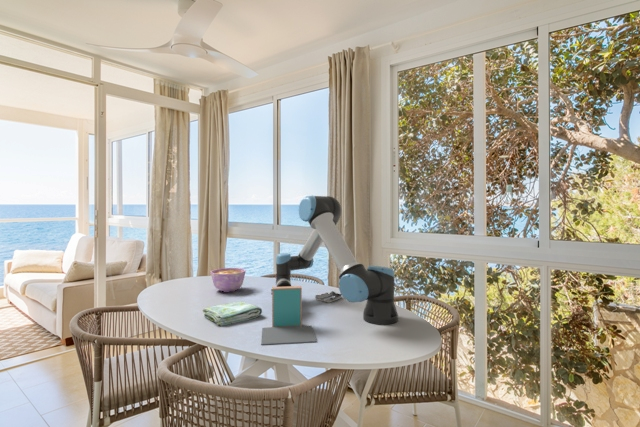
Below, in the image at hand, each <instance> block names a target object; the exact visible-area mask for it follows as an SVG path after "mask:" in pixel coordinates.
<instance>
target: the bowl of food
mask: <svg viewBox="0 0 640 427" xmlns="http://www.w3.org/2000/svg"><path fill="white" fill-rule="evenodd" d="M246 271H247V270H246V269H245V268H239V267H227V268H226V267H223V268H217V269H213V270H210V275H211V280H212V282H213V286H214V287H215V289H216V290H219V291H220V292H222V291H224V292H223V293H230V292H229V291H233V292H235V291H234V290H239V289H240V288H241V287H242V285H243V284H244V281H245V280H244V279H245V277H246V276H245V275H246Z"/></svg>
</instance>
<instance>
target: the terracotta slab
mask: <svg viewBox="0 0 640 427" xmlns="http://www.w3.org/2000/svg"><path fill="white" fill-rule="evenodd" d="M271 289H272V297H271V298H272V300H271V308H272V309H271V311H272V313H271V319H272V320H271V322H272V324H271V325H272V327H289V326H303V324H302V322H303V321H302V319H303V318H302V314H303V312H302V311H303V310H302V307H303V305H302V304H303V303H302V301H303V300H302V298H303V297H302V296H303V292H302V291H303V290H302V286H301V285H293V286H292V285H291V286H286V287H276V286H272V288H271Z"/></svg>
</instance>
